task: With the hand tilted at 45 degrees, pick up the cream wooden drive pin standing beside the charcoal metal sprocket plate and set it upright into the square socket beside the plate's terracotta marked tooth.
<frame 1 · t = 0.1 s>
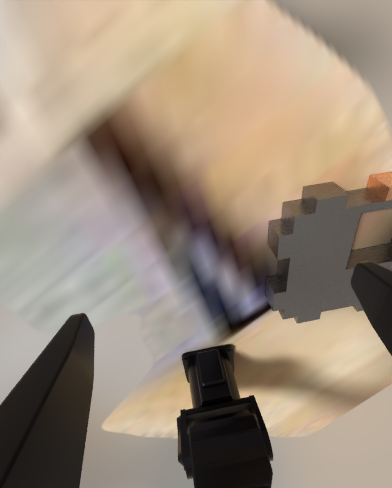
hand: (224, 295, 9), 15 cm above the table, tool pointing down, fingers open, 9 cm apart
sprocket plate: (339, 247, 29), on the table
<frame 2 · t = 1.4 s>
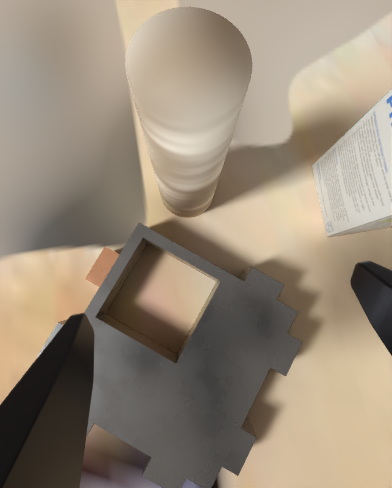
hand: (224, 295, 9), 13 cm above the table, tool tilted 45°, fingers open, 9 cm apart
sprocket plate: (173, 342, 22), on the table
light bulb box: (374, 193, 25), on the table
drive pin: (187, 191, 24), on the table
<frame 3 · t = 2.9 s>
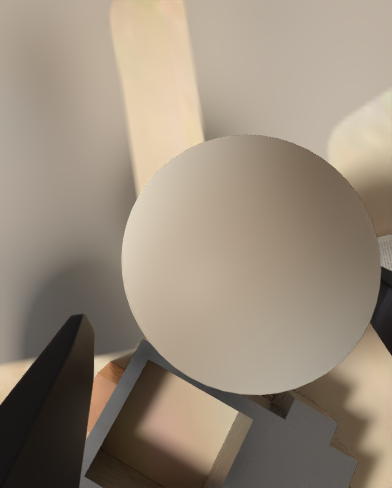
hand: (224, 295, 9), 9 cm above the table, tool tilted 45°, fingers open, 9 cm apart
sprocket plate: (189, 487, 17), on the table
drive pin: (203, 280, 19), on the table
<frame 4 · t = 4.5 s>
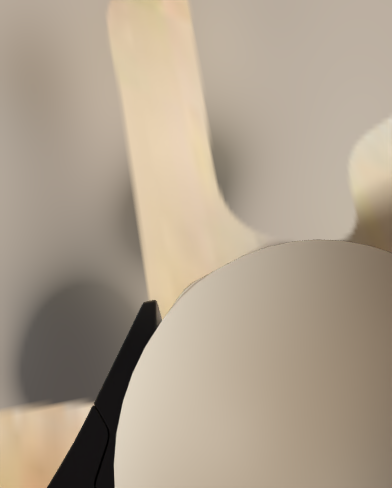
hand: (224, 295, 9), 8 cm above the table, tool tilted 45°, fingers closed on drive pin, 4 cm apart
drive pin: (212, 315, 17), on the table, touching gripper
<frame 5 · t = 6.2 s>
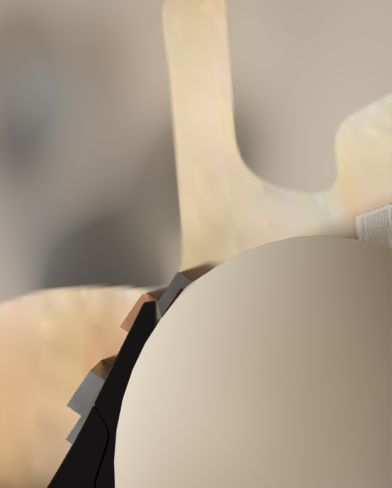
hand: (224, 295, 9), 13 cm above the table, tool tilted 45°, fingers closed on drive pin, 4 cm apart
sprocket plate: (202, 392, 22), on the table
drive pin: (212, 314, 17), point 6 cm above the table, touching gripper
when the fingers open (9 cm above the table, at t = 8.2 s): drive pin drops 1 cm, resting in sprocket plate.
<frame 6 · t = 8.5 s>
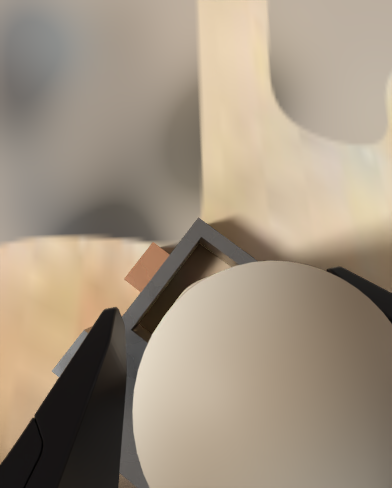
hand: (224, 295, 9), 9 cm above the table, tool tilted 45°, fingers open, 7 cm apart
sprocket plate: (218, 370, 18), on the table
drive pin: (209, 313, 18), resting in sprocket plate
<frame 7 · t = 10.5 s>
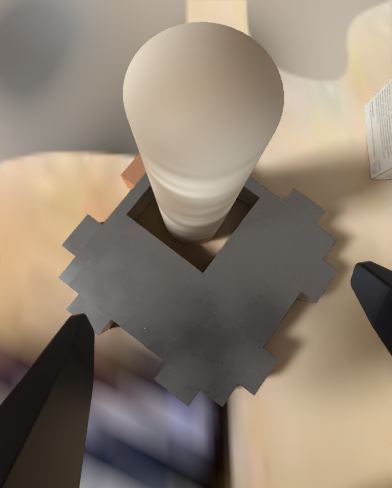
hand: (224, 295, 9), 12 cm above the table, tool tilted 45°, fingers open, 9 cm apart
sprocket plate: (199, 261, 21), on the table
drive pin: (192, 216, 22), resting in sprocket plate
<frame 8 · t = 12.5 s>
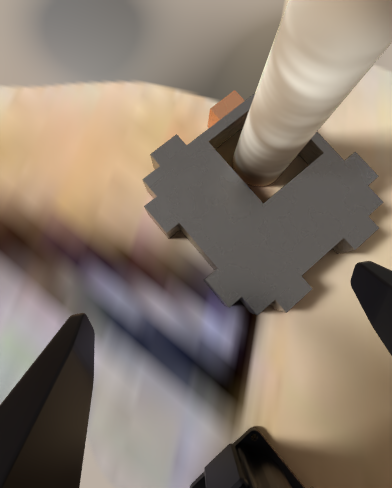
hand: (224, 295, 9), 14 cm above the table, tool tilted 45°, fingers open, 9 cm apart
sprocket plate: (256, 200, 24), on the table
drive pin: (257, 161, 25), resting in sprocket plate
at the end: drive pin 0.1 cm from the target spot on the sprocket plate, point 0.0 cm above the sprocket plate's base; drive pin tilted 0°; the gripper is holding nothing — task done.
